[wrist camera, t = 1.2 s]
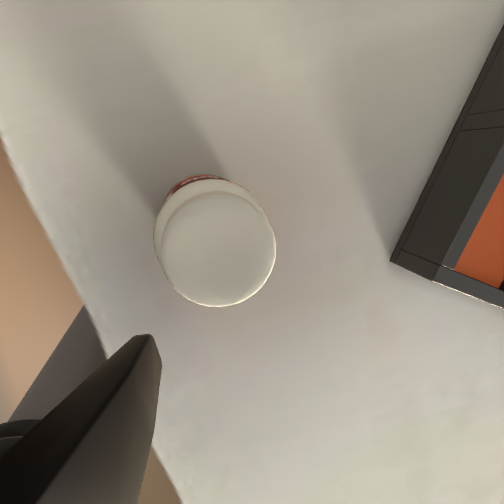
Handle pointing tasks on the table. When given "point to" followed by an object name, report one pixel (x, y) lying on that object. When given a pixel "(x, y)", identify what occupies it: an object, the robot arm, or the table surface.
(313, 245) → the table surface
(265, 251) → the pill bottle
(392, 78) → the table surface
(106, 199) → the table surface
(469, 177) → the organiser
